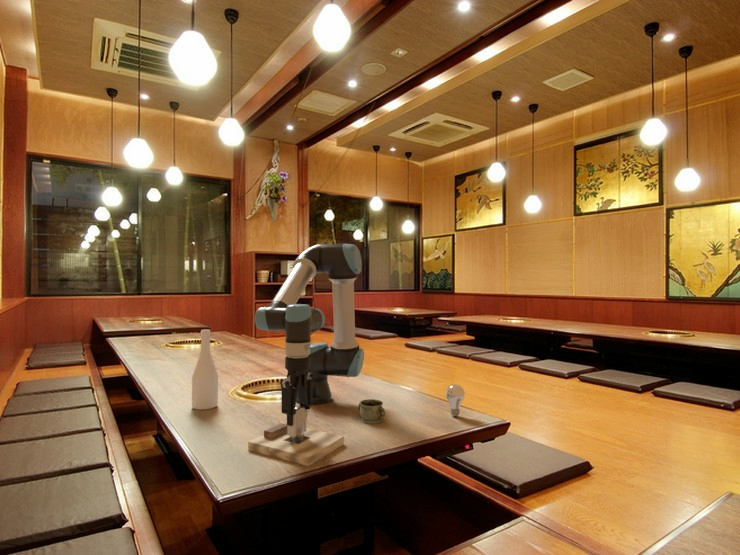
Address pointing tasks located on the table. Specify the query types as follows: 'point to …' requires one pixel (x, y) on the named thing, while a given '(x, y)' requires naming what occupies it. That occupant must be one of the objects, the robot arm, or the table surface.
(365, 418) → the vessel
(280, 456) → the jig
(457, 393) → the light bulb
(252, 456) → the table surface
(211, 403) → the wine bottle
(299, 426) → the shiny metal cylinder
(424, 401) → the table surface
